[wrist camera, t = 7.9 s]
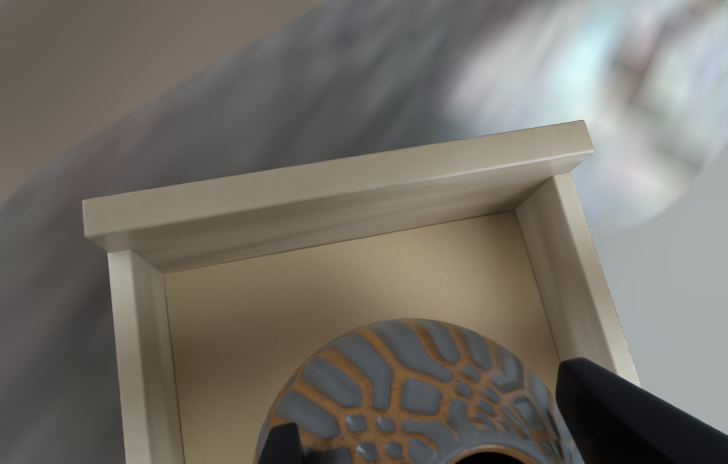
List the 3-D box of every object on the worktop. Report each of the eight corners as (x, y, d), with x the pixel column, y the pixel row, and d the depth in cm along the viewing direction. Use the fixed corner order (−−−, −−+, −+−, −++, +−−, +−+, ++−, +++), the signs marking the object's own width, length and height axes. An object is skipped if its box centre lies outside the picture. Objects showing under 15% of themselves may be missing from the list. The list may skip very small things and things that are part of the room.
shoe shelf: (592, 427, 17) (698, 442, 13) (173, 530, 16) (110, 594, 11) (518, 184, 20) (584, 118, 15) (143, 249, 18) (80, 199, 13)
